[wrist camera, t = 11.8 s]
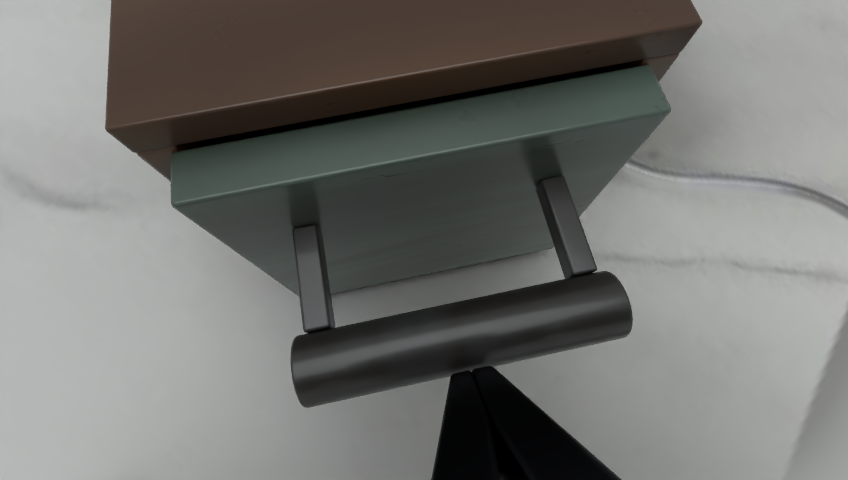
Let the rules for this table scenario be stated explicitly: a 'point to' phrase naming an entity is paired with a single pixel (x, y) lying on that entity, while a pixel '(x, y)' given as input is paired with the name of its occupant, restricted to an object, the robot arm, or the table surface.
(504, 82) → the cabinet
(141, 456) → the table surface
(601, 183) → the drawer
